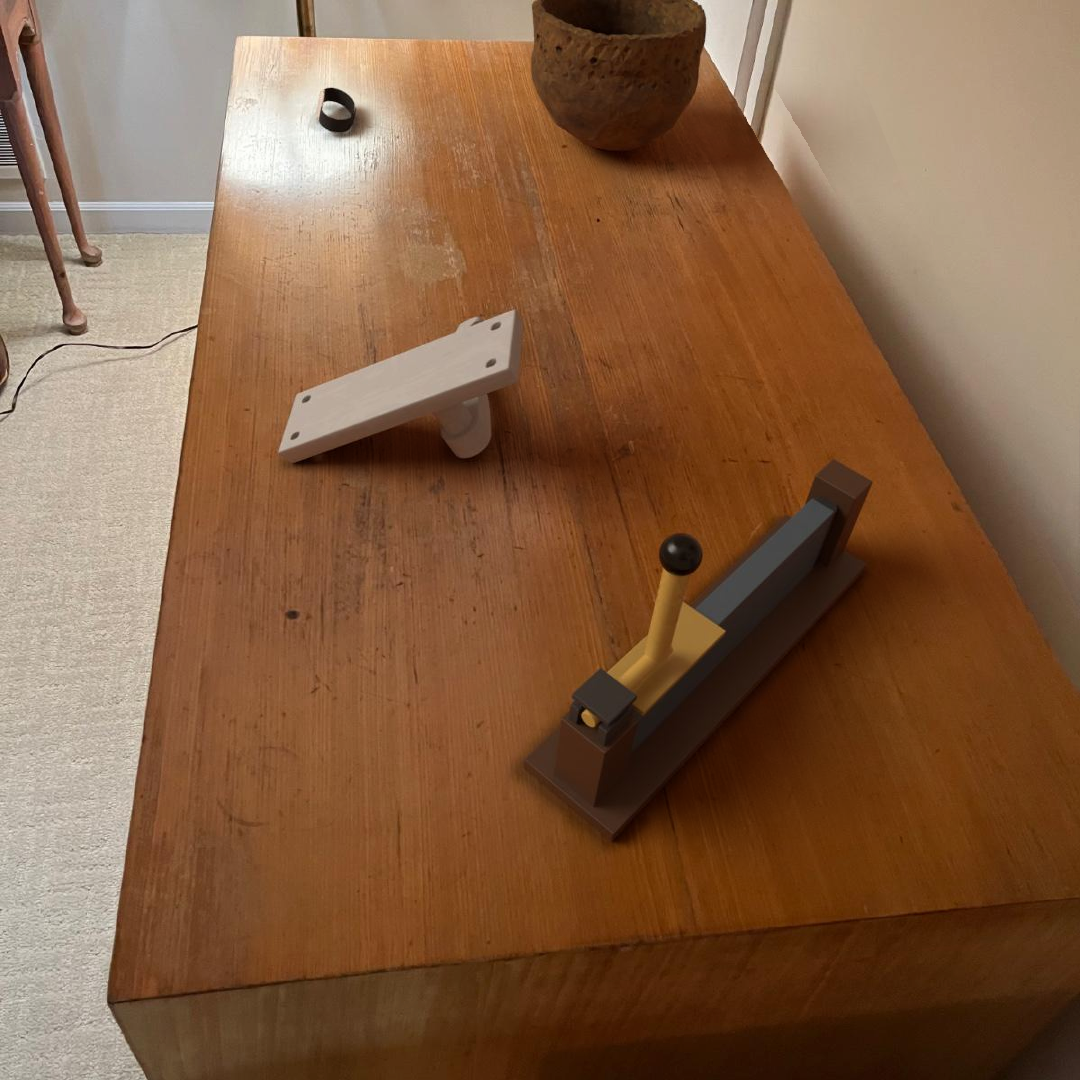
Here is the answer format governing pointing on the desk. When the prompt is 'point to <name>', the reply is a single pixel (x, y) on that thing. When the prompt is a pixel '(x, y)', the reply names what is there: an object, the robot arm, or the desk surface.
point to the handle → (413, 392)
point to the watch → (342, 99)
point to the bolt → (663, 609)
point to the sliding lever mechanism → (704, 661)
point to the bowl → (617, 66)
